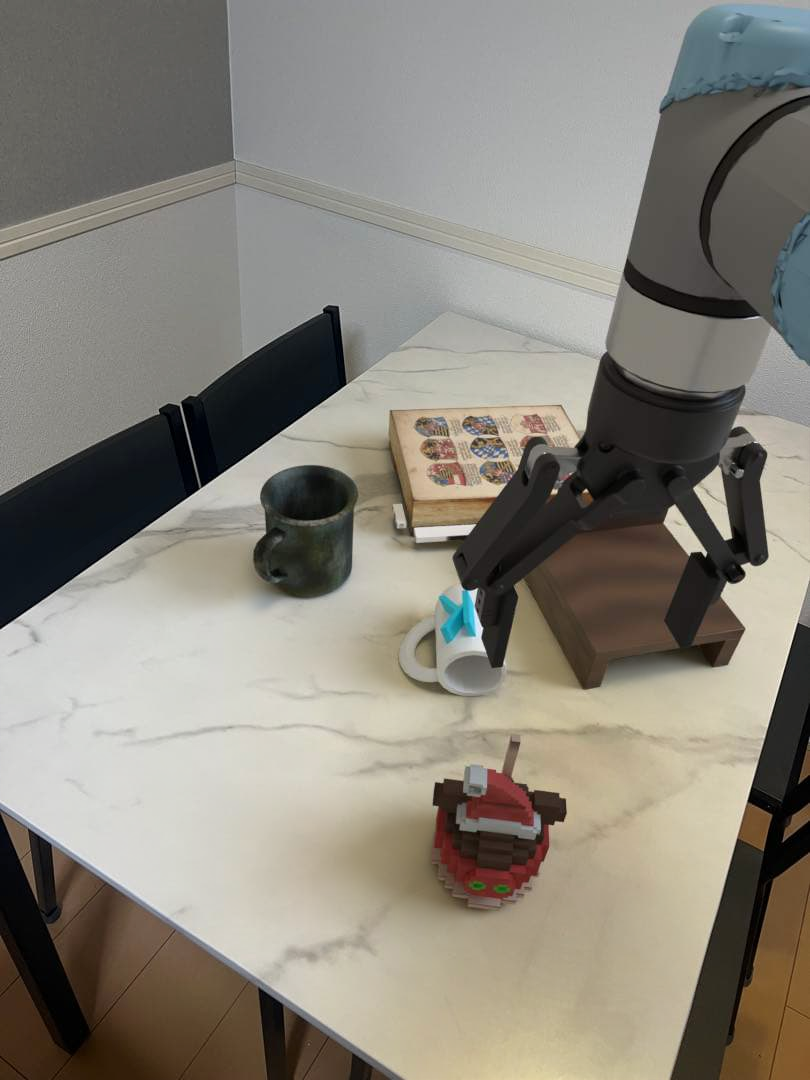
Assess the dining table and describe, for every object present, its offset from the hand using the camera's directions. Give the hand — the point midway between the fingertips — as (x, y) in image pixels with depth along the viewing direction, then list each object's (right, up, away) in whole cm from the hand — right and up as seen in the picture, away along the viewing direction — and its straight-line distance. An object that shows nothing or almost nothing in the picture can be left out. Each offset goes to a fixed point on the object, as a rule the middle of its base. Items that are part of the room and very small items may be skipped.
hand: (586, 643), depth 55 cm
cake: (-5, -21, +16) cm, 27 cm away
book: (-1, +14, +58) cm, 60 cm away
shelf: (+13, -2, +41) cm, 43 cm away
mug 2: (-8, -6, +34) cm, 36 cm away
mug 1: (-25, +2, +42) cm, 49 cm away
